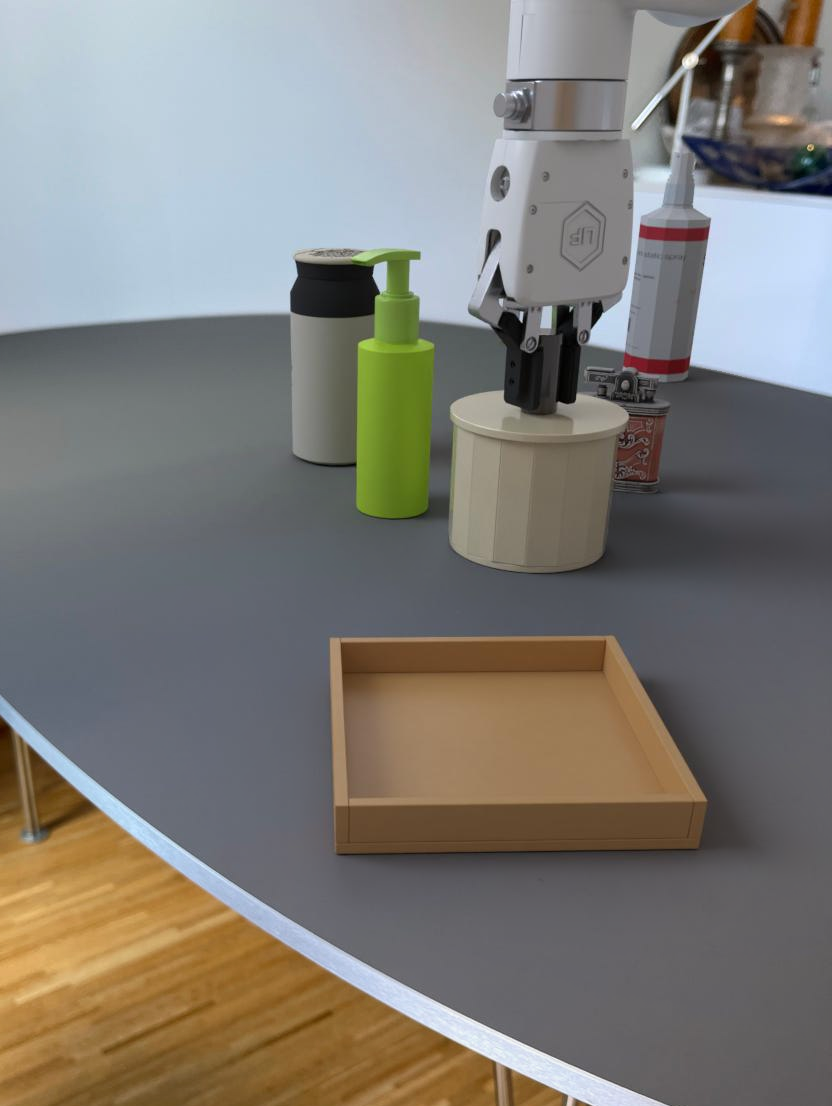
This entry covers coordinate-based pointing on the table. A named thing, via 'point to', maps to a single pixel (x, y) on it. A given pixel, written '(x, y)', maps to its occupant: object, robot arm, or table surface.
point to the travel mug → (328, 351)
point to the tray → (502, 749)
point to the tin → (530, 501)
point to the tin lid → (541, 408)
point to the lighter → (634, 425)
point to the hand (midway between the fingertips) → (539, 400)
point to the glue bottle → (668, 280)
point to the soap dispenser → (394, 398)
